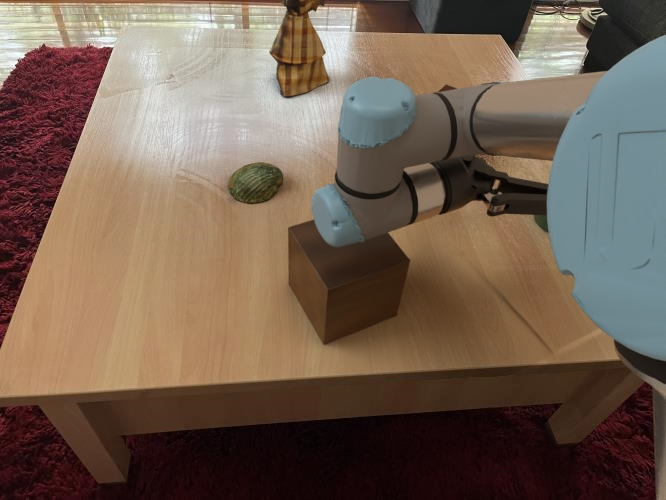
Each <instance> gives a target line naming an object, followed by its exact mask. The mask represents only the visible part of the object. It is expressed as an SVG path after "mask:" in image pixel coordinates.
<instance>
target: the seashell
mask: <svg viewBox="0 0 666 500" xmlns="http://www.w3.org/2000/svg"><path fill="white" fill-rule="evenodd" d="M283 182H284V173H283V172H282V170H281V169H280V168H279V167H278V166H276V165H275V164H272V163H269V162H265V161H264V162H260V161H259V162H251V163H248V164H245V165H242V166H241V167H239V168H238V169H236V170H235V171H234V172H233V173H231V175H230V177H229V179H228V181H227V190H228V191H229V192H228V193H229V194H230V195H231V197H233V199H234V200H236V201H239V202H242V203H246V204H255V203H261V202H265V201H267V200H270V199H271V198H272V197H273V196H275V194H276V193H277V192H278V189H279V186H280V185H281V184H283Z"/></svg>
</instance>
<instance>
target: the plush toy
mask: <svg viewBox="0 0 666 500" xmlns="http://www.w3.org/2000/svg"><path fill="white" fill-rule="evenodd" d="M326 1H327V0H281V4H282V5H283V8H286V11H285V14H284V16H283V18H282V20H281V23H280V26H279V29H278V31H277V34H276V36H275V37H274V40H273V42H272V45H271V47H270V49H269V51H268V52H269V54H270V56H271V57H272V58H273V59H274V60H275V62H276V63H277V65H276V70H275V71H276V73H275V75H276V80H277V83H278V86H279V89H280V90H279V92H280V93H279V94H280V95H281V96H282V97H286V98H287V97H292V96H296V95H301V94H304V93H308V92H311V91H312V90H314V89H316V88H318V87H320V86H323V85H325V84H327V83H328V82H329V81H330V79H331V77H330V76H329V75H328V72H327V69H326V65H325V62H324V56H325V55H326V53H327V51H326V49H325V47H324V45H323V42H322V40H321V38H320V36H319V34H318V32H317V30H316V29H315V27H314V25H313V23H312V20H311V17H310V15H309V13H310V12H311V11H313V12H315V13H316V12H317V10H318V8H319V6H321V7H325V4H326Z"/></svg>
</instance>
